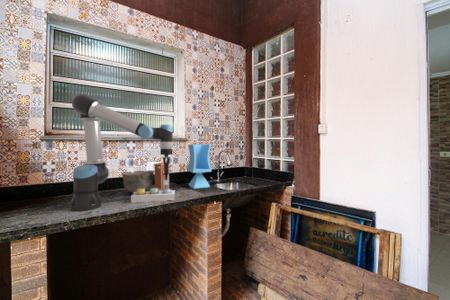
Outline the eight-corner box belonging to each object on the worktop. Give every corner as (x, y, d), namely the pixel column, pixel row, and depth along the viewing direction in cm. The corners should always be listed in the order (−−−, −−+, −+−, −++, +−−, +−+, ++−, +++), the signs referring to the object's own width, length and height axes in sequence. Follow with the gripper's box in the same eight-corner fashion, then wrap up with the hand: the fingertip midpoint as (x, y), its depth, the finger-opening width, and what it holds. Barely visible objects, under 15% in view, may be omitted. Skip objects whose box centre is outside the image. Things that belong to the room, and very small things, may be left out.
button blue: (162, 196, 144) (162, 190, 144) (163, 194, 149) (163, 189, 149) (170, 195, 145) (170, 190, 145) (170, 193, 150) (170, 188, 150)
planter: (193, 189, 176) (193, 144, 175) (187, 185, 190) (186, 144, 189) (211, 187, 183) (211, 144, 182) (204, 184, 197) (204, 144, 196)
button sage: (149, 194, 142) (149, 189, 142) (150, 193, 147) (150, 187, 147) (157, 194, 143) (157, 189, 143) (158, 192, 148) (158, 187, 148)
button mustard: (136, 195, 140) (136, 190, 140) (137, 193, 145) (137, 188, 145) (144, 195, 141) (144, 189, 141) (145, 193, 146) (145, 188, 146)
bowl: (157, 189, 176) (157, 170, 175) (148, 195, 154) (148, 174, 154) (129, 189, 175) (128, 170, 175) (116, 196, 153) (116, 174, 153)
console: (131, 202, 136) (130, 196, 136) (134, 198, 148) (134, 192, 148) (174, 200, 142) (174, 194, 142) (174, 195, 154) (174, 190, 154)
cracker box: (170, 190, 173) (161, 194, 159) (162, 189, 175) (152, 194, 160) (170, 162, 172) (161, 164, 158) (162, 162, 174) (152, 164, 159)
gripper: (172, 148, 140) (172, 186, 141) (172, 148, 153) (172, 182, 154) (159, 148, 139) (159, 186, 139) (161, 148, 151) (160, 182, 152)
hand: (166, 184), depth 147 cm, fingers closed
